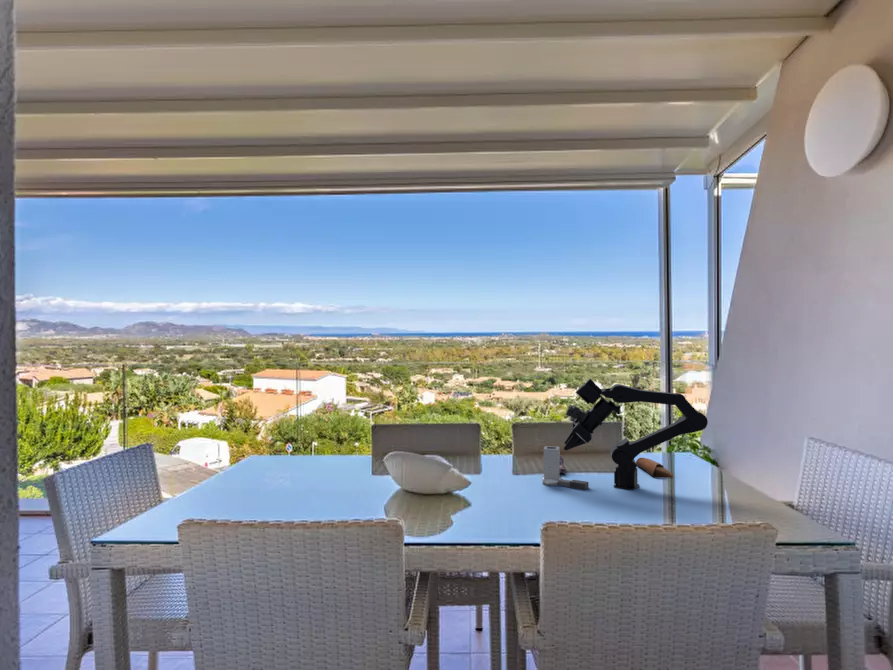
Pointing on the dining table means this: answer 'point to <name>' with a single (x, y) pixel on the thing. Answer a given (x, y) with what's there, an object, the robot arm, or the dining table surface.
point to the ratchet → (566, 483)
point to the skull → (562, 465)
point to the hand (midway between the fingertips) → (565, 446)
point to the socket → (551, 463)
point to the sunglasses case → (653, 468)
